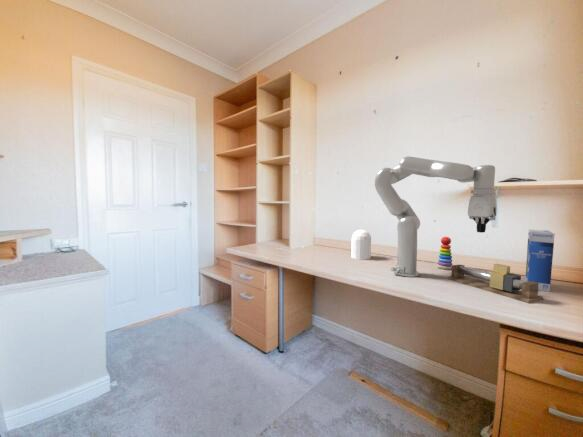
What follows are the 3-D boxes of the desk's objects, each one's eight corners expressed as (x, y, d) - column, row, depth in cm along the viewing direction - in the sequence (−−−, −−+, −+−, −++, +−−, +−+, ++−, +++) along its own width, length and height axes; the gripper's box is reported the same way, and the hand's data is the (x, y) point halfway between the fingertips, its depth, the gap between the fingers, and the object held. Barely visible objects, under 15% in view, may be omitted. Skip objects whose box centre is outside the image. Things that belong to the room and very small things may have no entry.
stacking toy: (455, 270, 143) (457, 237, 141) (441, 270, 143) (443, 237, 142) (447, 266, 151) (448, 235, 149) (434, 266, 151) (435, 235, 150)
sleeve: (489, 286, 110) (490, 264, 109) (498, 284, 112) (499, 263, 112) (502, 290, 105) (503, 267, 105) (511, 288, 108) (513, 265, 107)
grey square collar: (502, 289, 105) (503, 275, 105) (511, 287, 108) (512, 273, 107) (511, 291, 103) (512, 277, 102) (520, 289, 105) (521, 275, 105)
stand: (447, 278, 127) (447, 265, 126) (460, 276, 130) (460, 263, 130) (528, 303, 96) (529, 285, 96) (542, 299, 100) (543, 282, 99)
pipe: (454, 272, 126) (454, 265, 126) (459, 272, 128) (459, 264, 127) (528, 292, 98) (529, 283, 98) (534, 291, 100) (534, 282, 100)
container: (374, 257, 175) (374, 229, 174) (365, 260, 166) (365, 230, 164) (356, 254, 185) (357, 227, 183) (347, 257, 175) (347, 229, 174)
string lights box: (524, 281, 123) (527, 229, 121) (546, 284, 118) (550, 230, 116) (527, 288, 113) (530, 231, 111) (551, 292, 108) (555, 233, 106)
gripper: (461, 193, 120) (459, 230, 121) (496, 192, 106) (493, 234, 108) (471, 193, 123) (469, 230, 124) (507, 192, 109) (504, 233, 110)
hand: (480, 232), depth 116 cm, fingers closed
